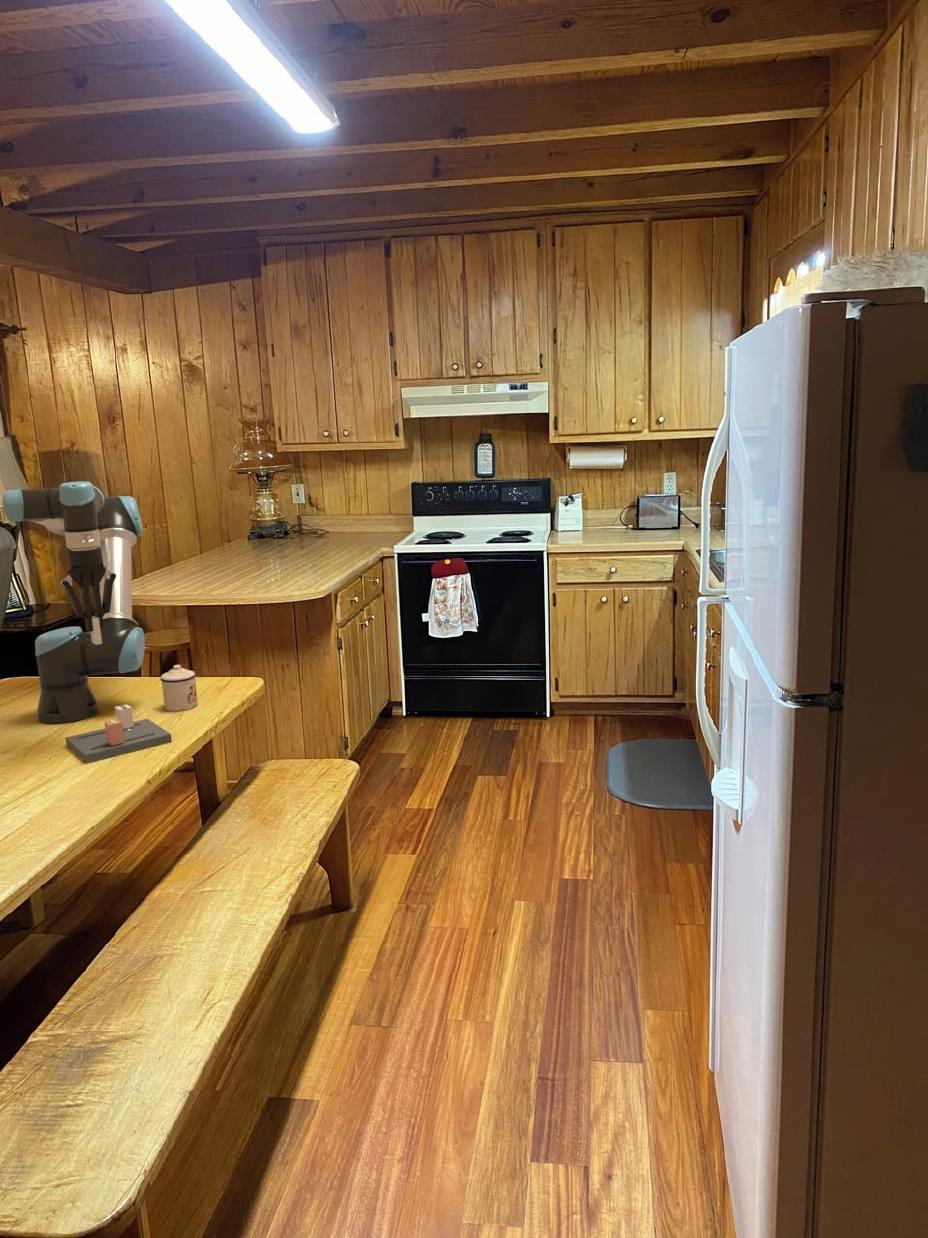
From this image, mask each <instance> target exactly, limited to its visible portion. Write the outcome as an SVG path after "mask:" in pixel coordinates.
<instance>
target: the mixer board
mask: <svg viewBox="0 0 928 1238" xmlns="http://www.w3.org/2000/svg"><path fill="white" fill-rule="evenodd" d="M133 723H134V727H130V728H126V729H123V733H124V741H125V742H124V743H120V744H116V745H110V744H109V743H108V742H107V739H106V731H105V728H100V729H97V730H92V731H88V732H84V733H80V734H76V735H71V736H67V737H65V743H66V747H68V748H69V749H70V750H71V751H72V752H73V753H75V754H76V755H77V756H78V757H79V758H80V759H81V760H82V761H83V762H85V763H86V764H89V763H93V762H98V761H101V760H105V759H110V758H112V757H117V756H121V755H125V754H129V753H133V752H137V751H142V750H145V749H149V748H152V747H156V746H161V745H165V744H169V743H172V741H173V740H172V733H170V732H169V731H167V730H166V729H164V728H162V727H161V726H159V725H158V724H156V723H155V722H154V721H152V720H150V719H149V718H144V719H140V720H135V721H133Z"/></svg>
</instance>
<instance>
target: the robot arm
mask: <svg viewBox="0 0 928 1238" xmlns="http://www.w3.org/2000/svg"><path fill="white" fill-rule="evenodd" d="M2 509H3V513H4V516H5V518H6V519H7V520H8V521H10V522H25V521H28V522H29V521H30V522H33V523H36V524H39V525H42V526H44V528H46V529H47V530H48V531H50V533H52V534H53V533H54V534H56V535H59V536H63V537H65V544H66V548H67V549H68V551H67V557H68V558H67V559H68V564H69V565H68V566H69V569H68V573H67V574H68V575H66V577H64V578H63V579H59V584H60V585H61V586H62V587H63V588H64V590H65V592H66V594H67V597H68V598H69V602H70V604H71V606H72V609H73V611H74V614H75V615H76V616H77V617H78V618H82V619H84V624H85V630H86V631H85V632H83V629H82V628H81V626H78V625H77V626H68V627H67V626H66V627H61V628H57V629H54V630H50V631H47V632H45V633H42V634H40V635H39V636H37V637H36V639H35V641H34V645H35V653H34V654H35V655H34V656H35V657H36V663H37V670H38V671H37V672H38V678H39V685H40V694H39V699H38V705H37V710H36V714H37V720H38V721H39V722H40V723H45V724H64V723H65V724H66V723H72V722H77V721H78V722H79V721H81V720H84V719H85V720H86V719H87V718H88V719H89V717H90V718H91V717H92V716H94V715H96V714H97V713H98V712H99V710H100V709H99V703H98V700H97V698H96V695H95V694H94V693H93V690H92V688H91V686H90V685H89V678H88V676H98V675H106V674H107V675H108V674H109V675H110V674H125V673H128V672H136V671H138V670H139V669H140V668H141V666H142V665H143V661H144V656H145V646H146V645H145V631H144V630H143V628H141V627H139V623H138V622H137V621H136V620H135V619H133V595H132V594H133V589H132V588H133V587H132V582H133V579H132V547H134V546H135V545H136V544H137V542H138V541H137V540H138V537H141V536H143V532H144V531H143V523H142V519H141V515H140V510H139V506H138V504H137V501H136V499H135V498H134V497H133V496H129V495H127V496H126V495H125V496H122V495H117V496H104V494H103V492H102V491H101V490H100V489H99V488H98V487H96V486H94V485H93V484H92V482H91V481H90V482H89V481H69V482H63V483H61V484H60V485H59V487H51V488H50V487H48V488H29V489H27V488H25V489H20V488H17V489H11V490H6V491H4V493H3V495H2ZM73 582H75V584H76V585H77V586H78V589H79V591H80V598H81V599H80V600H81V603H80V601H79V599H78V597H77V595H76V592H75V589H74V587H73V584H74V583H73ZM90 589H91V590H90ZM90 591H91V597H92V598H91V599H92V605H93V612H94V615H93V612H92V606H91V599H90Z"/></svg>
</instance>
